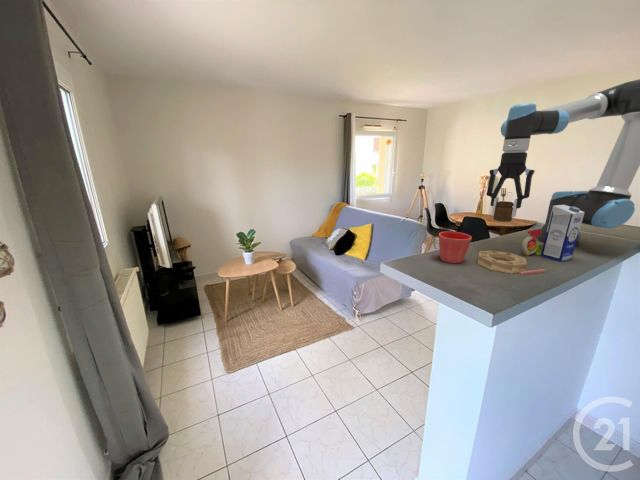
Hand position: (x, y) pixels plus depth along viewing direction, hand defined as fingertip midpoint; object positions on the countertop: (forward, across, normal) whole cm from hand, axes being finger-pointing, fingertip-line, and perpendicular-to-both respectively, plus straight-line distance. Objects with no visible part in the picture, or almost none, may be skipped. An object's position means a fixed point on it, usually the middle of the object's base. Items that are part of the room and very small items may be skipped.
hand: (503, 215), depth 102 cm
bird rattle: (+16, +10, +9) cm, 21 cm away
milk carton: (+16, +17, +11) cm, 26 cm away
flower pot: (+16, -10, -19) cm, 27 cm away
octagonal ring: (+16, +4, -12) cm, 20 cm away
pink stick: (+16, +14, -13) cm, 25 cm away
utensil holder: (+2, 0, 0) cm, 2 cm away
